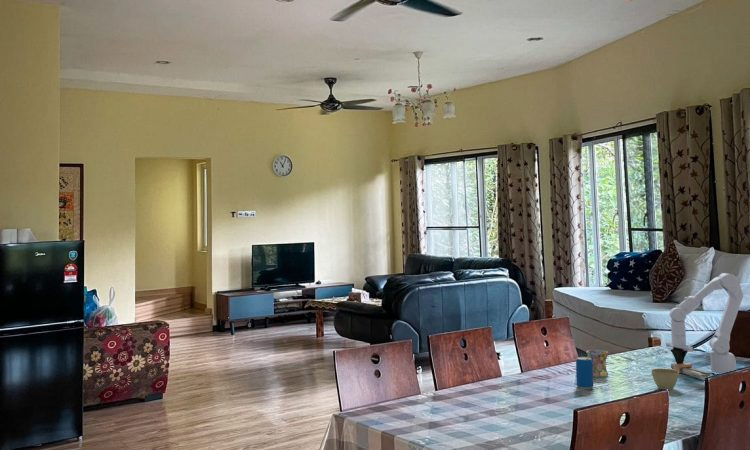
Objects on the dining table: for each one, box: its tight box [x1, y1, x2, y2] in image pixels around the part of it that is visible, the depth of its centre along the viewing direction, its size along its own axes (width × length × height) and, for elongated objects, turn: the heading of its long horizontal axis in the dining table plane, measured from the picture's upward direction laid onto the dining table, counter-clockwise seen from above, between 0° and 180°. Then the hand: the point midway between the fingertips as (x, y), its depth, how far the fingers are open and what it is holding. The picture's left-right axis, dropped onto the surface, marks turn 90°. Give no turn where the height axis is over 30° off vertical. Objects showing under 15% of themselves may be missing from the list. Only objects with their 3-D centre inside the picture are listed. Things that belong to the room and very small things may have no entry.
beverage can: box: [575, 356, 594, 390], centre depth 249 cm, size 6×6×12 cm
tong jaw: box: [680, 367, 706, 380], centre depth 263 cm, size 16×3×2 cm, turn 10°
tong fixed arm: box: [670, 362, 711, 377], centre depth 268 cm, size 4×21×2 cm, turn 14°
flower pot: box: [651, 368, 680, 391], centre depth 243 cm, size 10×10×7 cm
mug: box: [586, 349, 609, 378], centre depth 269 cm, size 12×9×11 cm
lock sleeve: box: [674, 362, 693, 374], centre depth 270 cm, size 7×2×4 cm, turn 104°
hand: (679, 365), depth 272 cm, fingers closed
